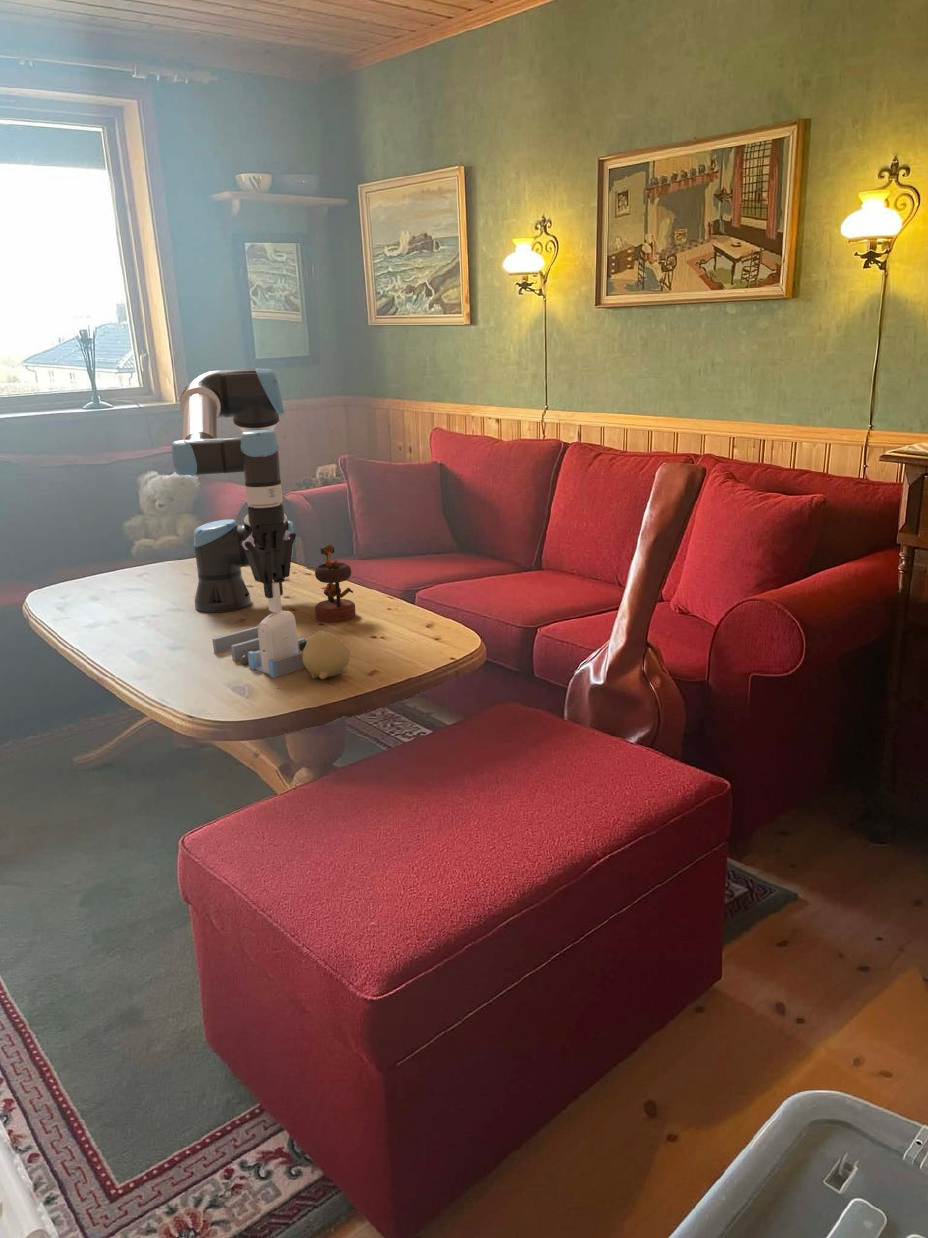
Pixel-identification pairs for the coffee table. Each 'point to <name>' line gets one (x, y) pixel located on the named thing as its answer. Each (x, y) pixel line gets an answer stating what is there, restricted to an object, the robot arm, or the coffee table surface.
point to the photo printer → (277, 637)
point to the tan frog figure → (324, 655)
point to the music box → (334, 590)
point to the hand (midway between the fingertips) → (275, 610)
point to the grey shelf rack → (256, 652)
